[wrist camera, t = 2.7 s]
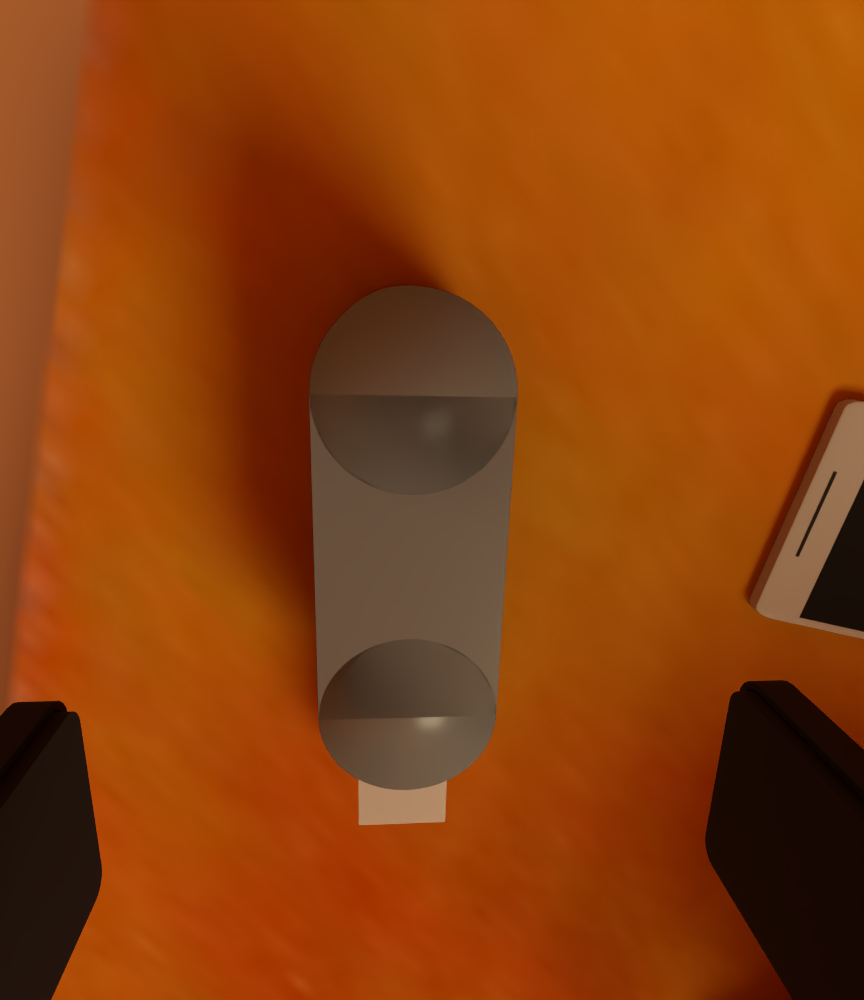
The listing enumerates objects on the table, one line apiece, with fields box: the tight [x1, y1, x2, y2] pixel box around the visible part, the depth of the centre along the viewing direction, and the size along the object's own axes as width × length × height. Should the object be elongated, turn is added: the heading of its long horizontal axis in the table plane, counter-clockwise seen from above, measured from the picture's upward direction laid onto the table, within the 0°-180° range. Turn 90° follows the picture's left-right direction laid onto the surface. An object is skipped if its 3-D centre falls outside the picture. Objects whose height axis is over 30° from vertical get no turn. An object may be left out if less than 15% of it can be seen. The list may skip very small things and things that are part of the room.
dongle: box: [309, 285, 517, 825], centre depth 18 cm, size 16×4×5 cm, turn 178°
